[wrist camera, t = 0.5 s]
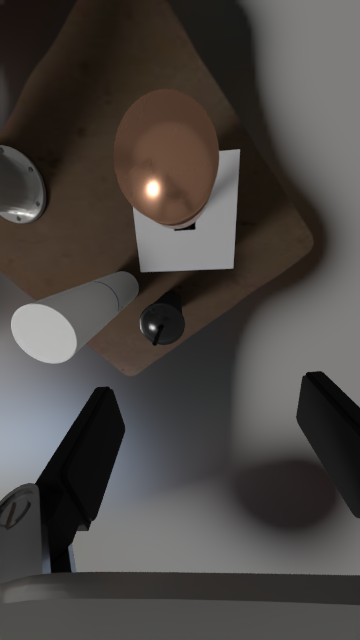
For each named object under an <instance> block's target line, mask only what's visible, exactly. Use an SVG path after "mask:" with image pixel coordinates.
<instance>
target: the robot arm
mask: <svg viewBox="0 0 360 640" xmlns="http://www.w3.org/2000/svg"><path fill="white" fill-rule="evenodd" d="M45 206H46V189H45V185H44V182H43V179H42V176H41V174H40V173H39V171H38V169H37V168H36V166H35V165H34V164H33V162H32V161H31V160H30V159H29V158H28V157H26V156H25V155H24V154H23V153H21V152H19V151H17V150H16V149H13V148H11V147H9V146H4V145H0V215H1V216H2V217H4V218H5V219H7V220H9V221H12V222H15V223H31V222H34V221H35V220H37V219H38V218H39V217H40V216H41V215H42V213H43V211H44V209H45ZM296 418H297V422H298V424H299V426H300V428H301V429H302V431H303V433H304V434H305V436H306V438H307V439H308V441H309V443H310V444H311V446H312V448H313V449H314V451H315V453H316V454H317V456H318V458H319V459H320V461H321V463H322V464H323V466H324V467H325V469H326V471H327V472H328V474H329V476H330V477H331V479H332V481H333V482H334V484H335V486H336V487H337V489H338V491H339V492H340V494H341V495H342V497H343V499H344V501H345V502H346V504H347V506H348V507H349V508H350V510H351V512H352V513H353V515H354V516H355V517H357V518H360V408H359V406H357V405H356V404H355V403H354V402H353V401H352V400H351V399H350V398H349V397H348V396H347V395H346V394H345V393H344V392H343V391H342V390H341V389H340V388H339V387H338V386H337V385H336V384H335V383H334V382H333V381H332V380H330V379H329V378H328V377H327V376H326V375H325V374H324V373H323V372H321V371H319V372H318V371H317V372H307V373H306V375H305V376H303V377H302V384H301V390H300V397H299V403H298V409H297V416H296ZM124 433H125V425H124V422H123V419H122V416H121V413H120V410H119V407H118V404H117V401H116V398H115V395H114V392H113V390H112V389H110V388H109V387H97V388H96V389H95V390H94V392H93V393H92V395H91V396H90V398H89V400H88V401H87V403H86V404H85V406H84V407H83V409H82V411H81V412H80V414H79V416H78V417H77V419H76V420H75V421H74V423H73V425H72V426H71V428H70V429H69V431H68V432H67V434H66V436H65V437H64V439H63V440H62V442H61V444H60V445H59V447H58V448H57V450H56V451H55V453H54V455H53V456H52V458H51V459H50V461H49V462H48V464H47V466H46V467H45V469H44V470H43V472H42V474H41V475H40V477H39V478H38V480H37V481H36V483H35V484H32V483H28V484H24V485H21V486H20V487H17V488H16V489H14V490H13V491H11V492H10V493H9V494H7V495H6V496H5V497H4V498H3V499H2V500H1V501H0V640H360V576H359V575H310V574H309V575H307V574H254V573H253V574H252V573H178V572H169V573H168V572H76V567H75V560H74V554H73V547H72V542H73V539H74V537H75V534H76V531H88V530H89V527H90V524H91V521H93V520H95V518H96V517H97V514H98V511H99V508H100V505H101V502H102V499H103V496H104V493H105V490H106V487H107V484H108V481H109V478H110V475H111V472H112V469H113V466H114V463H115V460H116V457H117V454H118V451H119V448H120V445H121V442H122V439H123V436H124Z"/></svg>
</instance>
